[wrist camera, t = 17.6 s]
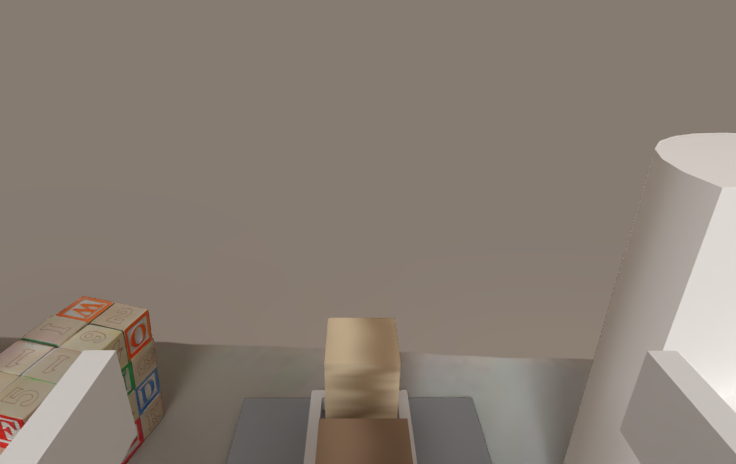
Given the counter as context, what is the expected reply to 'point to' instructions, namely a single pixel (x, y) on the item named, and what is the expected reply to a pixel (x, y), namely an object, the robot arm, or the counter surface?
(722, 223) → the cylinder
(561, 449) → the counter surface
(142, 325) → the stack of blocks
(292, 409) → the board
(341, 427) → the walnut pillar
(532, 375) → the counter surface
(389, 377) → the oak pillar
